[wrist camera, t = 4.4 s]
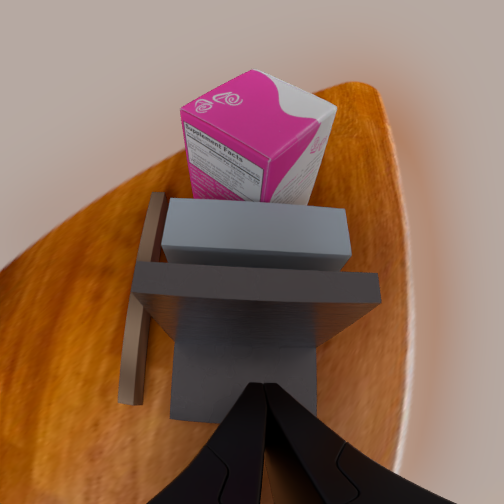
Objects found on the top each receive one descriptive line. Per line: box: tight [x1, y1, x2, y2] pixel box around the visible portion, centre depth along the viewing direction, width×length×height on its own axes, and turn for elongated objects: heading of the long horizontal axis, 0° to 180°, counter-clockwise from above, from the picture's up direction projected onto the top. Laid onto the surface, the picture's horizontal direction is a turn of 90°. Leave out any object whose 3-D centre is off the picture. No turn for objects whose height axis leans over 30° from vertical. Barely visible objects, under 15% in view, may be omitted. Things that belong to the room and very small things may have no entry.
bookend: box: [131, 261, 381, 423], centre depth 14 cm, size 6×9×10 cm
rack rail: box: [118, 192, 168, 405], centre depth 19 cm, size 15×1×2 cm, turn 179°
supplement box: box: [180, 69, 337, 206], centre depth 18 cm, size 6×6×11 cm
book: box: [161, 198, 352, 272], centre depth 17 cm, size 2×8×9 cm, turn 88°
